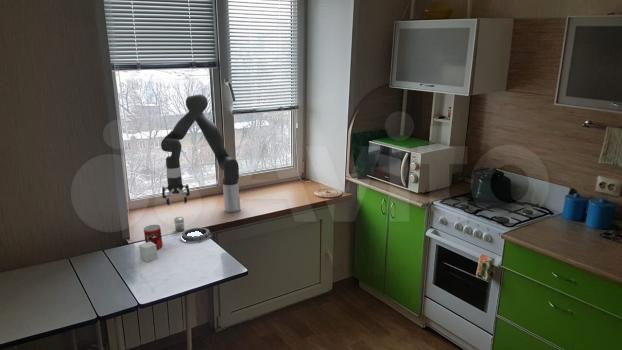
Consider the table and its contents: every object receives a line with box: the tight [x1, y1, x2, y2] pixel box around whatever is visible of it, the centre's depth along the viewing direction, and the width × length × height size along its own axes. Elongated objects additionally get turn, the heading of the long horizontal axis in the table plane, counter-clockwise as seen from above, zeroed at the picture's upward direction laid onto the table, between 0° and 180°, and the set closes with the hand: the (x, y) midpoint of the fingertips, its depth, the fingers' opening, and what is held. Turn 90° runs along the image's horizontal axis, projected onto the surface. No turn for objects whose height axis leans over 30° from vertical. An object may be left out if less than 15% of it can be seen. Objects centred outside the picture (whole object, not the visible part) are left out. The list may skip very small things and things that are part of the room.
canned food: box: [143, 224, 163, 251], centre depth 234 cm, size 8×8×11 cm
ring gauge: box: [181, 226, 212, 243], centre depth 248 cm, size 16×16×3 cm
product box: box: [138, 241, 159, 263], centre depth 222 cm, size 6×6×7 cm
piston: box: [173, 216, 185, 233], centre depth 257 cm, size 5×5×7 cm
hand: (177, 204), depth 254 cm, fingers open, 8 cm apart
